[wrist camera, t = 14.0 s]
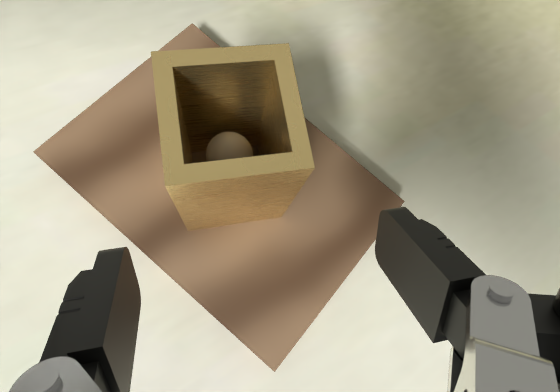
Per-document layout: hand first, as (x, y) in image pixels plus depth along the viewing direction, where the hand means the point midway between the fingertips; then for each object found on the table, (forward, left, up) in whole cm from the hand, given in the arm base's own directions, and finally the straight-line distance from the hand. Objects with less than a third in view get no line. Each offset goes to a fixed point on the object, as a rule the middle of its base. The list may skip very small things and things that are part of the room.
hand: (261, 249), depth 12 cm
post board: (-5, +4, -13) cm, 15 cm away
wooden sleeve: (-5, +4, -12) cm, 13 cm away
